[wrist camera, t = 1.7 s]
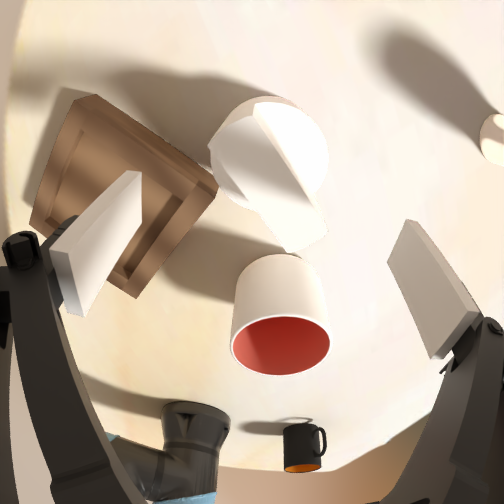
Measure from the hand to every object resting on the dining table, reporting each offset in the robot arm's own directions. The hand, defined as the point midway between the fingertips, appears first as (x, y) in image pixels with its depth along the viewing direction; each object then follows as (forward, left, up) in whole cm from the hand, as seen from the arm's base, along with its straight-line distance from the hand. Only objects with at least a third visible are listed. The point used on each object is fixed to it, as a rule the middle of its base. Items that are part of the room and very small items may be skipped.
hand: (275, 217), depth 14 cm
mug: (-40, -47, -16) cm, 64 cm away
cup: (-12, -12, -16) cm, 23 cm away
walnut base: (-14, +9, -16) cm, 23 cm away
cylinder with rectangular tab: (0, 0, -16) cm, 16 cm away
